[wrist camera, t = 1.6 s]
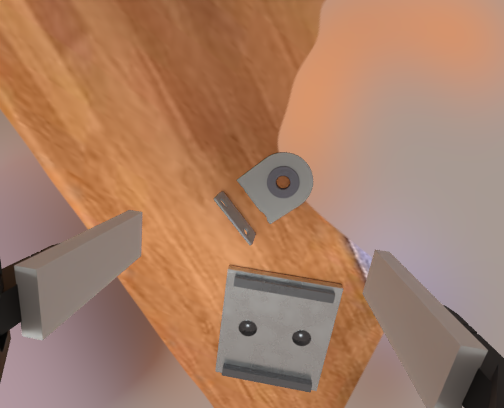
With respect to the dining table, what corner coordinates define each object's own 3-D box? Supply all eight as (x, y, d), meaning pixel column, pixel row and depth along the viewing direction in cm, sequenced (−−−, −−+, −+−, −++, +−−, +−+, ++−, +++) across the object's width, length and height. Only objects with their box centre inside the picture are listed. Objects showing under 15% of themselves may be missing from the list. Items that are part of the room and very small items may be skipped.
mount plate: (229, 265, 32) (226, 272, 30) (341, 284, 31) (345, 292, 30) (216, 365, 36) (214, 376, 34) (315, 384, 35) (317, 396, 34)
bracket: (323, 187, 29) (329, 193, 26) (253, 234, 31) (250, 246, 28) (290, 139, 28) (291, 140, 25) (220, 192, 30) (212, 199, 27)
